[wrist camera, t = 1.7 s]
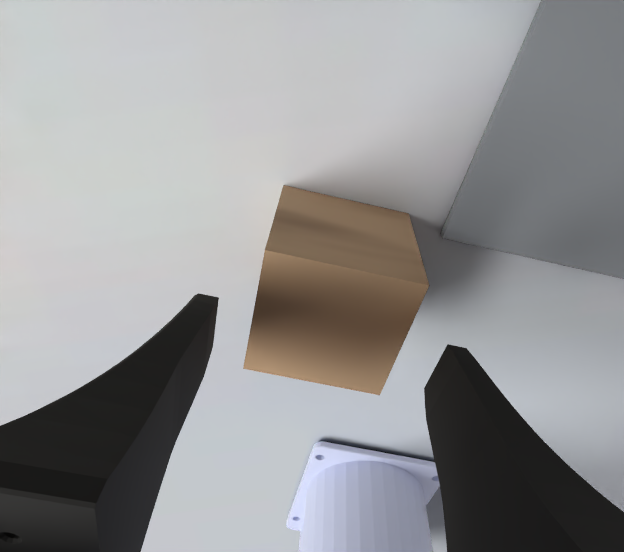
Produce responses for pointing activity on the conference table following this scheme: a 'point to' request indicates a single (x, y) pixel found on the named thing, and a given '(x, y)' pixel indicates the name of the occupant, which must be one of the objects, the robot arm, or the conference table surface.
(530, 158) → the pad
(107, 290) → the conference table surface
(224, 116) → the conference table surface
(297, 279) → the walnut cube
